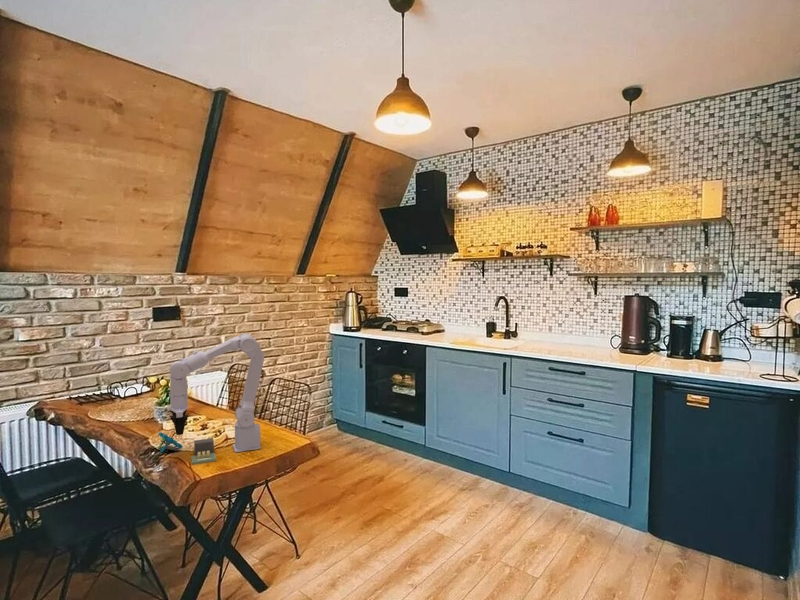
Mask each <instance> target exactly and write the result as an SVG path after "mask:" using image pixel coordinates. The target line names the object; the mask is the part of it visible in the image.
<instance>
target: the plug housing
mask: <svg viewBox="0 0 800 600" xmlns="http://www.w3.org/2000/svg"><path fill="white" fill-rule="evenodd" d="M214 440H215V439H214V438H213V437H211V438H206V439H205V438H204V439H196V440H194V441H193V442H194V443H193V453H194V455H193V456H197V455H198V452H201V455H202V452H203V451H205V454H207V451H210V453H215V449H214V448H215V441H214Z"/></svg>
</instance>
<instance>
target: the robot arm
mask: <svg viewBox="0 0 800 600" xmlns="http://www.w3.org/2000/svg"><path fill="white" fill-rule="evenodd" d="M240 350H241V352H243V353H244V354H245V355H246V356H248V358H249V359H250V362H249V366H248V370H247V374H246V379H245V384H244V388H243V392H242V396H241V399H240V401H239V404H238V407H236V409H235V412H234V417H235V418H236V423H235V424H234V443H233V444H232V449H233V450H234V453H240V452H248V451H255V450H260V449H261V447H262V446H261V443H262V442H261V438H262V437H261V435H262V434H261V432H262V431H261V425H260V423H255V420H256V419H255V418H256V417H255V413H254V412H255V400H256V397H257V392H258V388H259V384H260V379H261V375H262V371H263V366H264V361H265V355H264V353H263V350H262V348H261V345H260V343H259V342H258V340H257V339H255V338H254V336H252V335H251V334H249V333H242V334H241V333H240V335H236V336H234V337H231V338H230V339H227V340H225V341H224V342H222V343H219V344H217V346H214V347H212V348H210V349H209V350H207V351H202V350H198V351H197V350H195V351H193V352H192V353H193V354H190V355H188V356H186V357H185V358H184V357H181V358H179V359H180V360H176V361H174V362H172V363H171V365H170V366H169V375H170V377H169V379H170V380H169V381H170V382H169V387H170V388H169V397H170V398H169V400H170V405H169V406H166V411H170V413H171V414H172V415H170V420H171V421H172V423H173V425H174V430H175V435H176V436H180V435H184V432H185V427H186V423H187V420H188V418H189V414H186V413H187V410H188V408H189V397H188V391H189V389H188V380H187V376H188V374H190V373H193V372H195V371H197V370H199V369H201V368H204V367H205V366H207V365H208V364H209V361H210V360H212V359H215V358H216V357H218V356H222V355H223V354H225V353H227V352H231V351H232V352H239V351H240Z"/></svg>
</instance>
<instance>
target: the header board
mask: <svg viewBox="0 0 800 600" xmlns="http://www.w3.org/2000/svg"><path fill="white" fill-rule="evenodd" d="M190 458H191V459H190V460H191V465H192V466H193V465H199V464H206V463H212V462H217V457H216V453H215V452H214V453H210V451H207V454H205V451H203V452H202V455H201V452H198V455H197V456H195V455H191V457H190Z"/></svg>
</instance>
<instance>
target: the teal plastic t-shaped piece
mask: <svg viewBox="0 0 800 600" xmlns="http://www.w3.org/2000/svg"><path fill="white" fill-rule="evenodd" d="M158 435H159V437H161V441H160V442H161V443H160V444H159V445H158V447H157V449H158V450H160V451H159V452H160V453H164V451H165V450H166V449H167V447H168V446H170V445H171V444H172V445H173V446H175V447H178V448H179V449H182V448H183V445H182V444H181V443H180V442H178V441H177V440H175V439H174V437H172V436H171V437H170V436H169V435H167V434H165V433H163V432H160V431H159V432H158ZM163 445H164V446H163ZM162 446H163V447H162ZM161 447H162V448H161Z"/></svg>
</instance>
